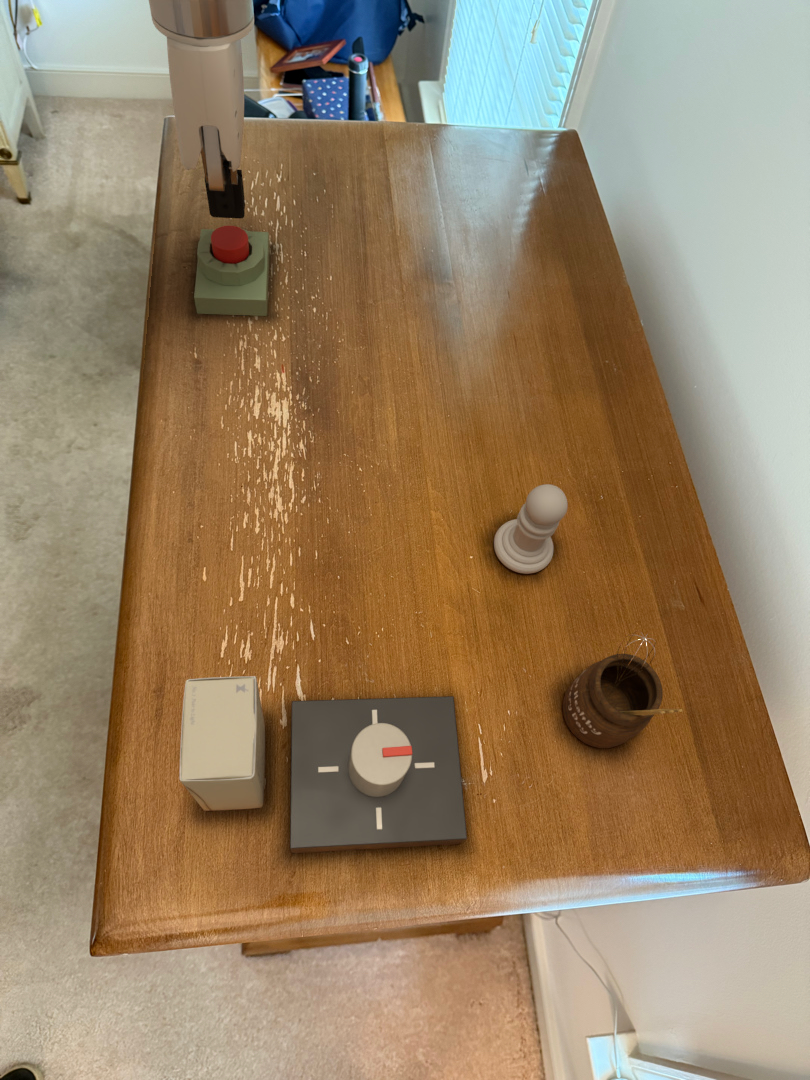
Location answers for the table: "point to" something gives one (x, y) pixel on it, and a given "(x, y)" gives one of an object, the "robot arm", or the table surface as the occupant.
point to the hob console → (353, 817)
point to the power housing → (233, 279)
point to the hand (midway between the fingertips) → (227, 211)
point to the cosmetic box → (223, 743)
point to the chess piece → (532, 531)
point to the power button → (230, 244)
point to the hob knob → (379, 759)
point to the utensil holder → (613, 699)
